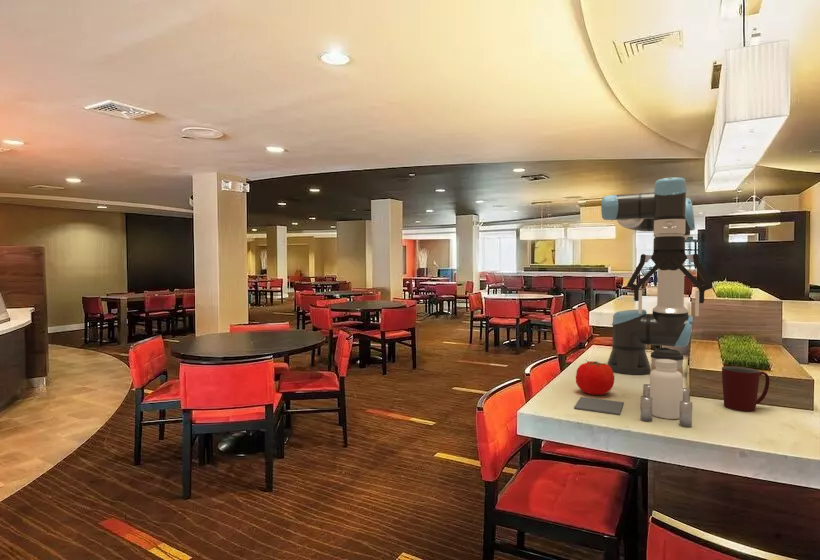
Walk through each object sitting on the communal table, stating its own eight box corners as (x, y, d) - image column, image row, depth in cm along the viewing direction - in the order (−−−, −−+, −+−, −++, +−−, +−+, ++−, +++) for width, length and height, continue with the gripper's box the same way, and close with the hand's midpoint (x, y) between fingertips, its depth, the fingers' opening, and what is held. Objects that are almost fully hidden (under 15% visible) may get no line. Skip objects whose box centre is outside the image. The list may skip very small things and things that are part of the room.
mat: (580, 398, 147) (580, 396, 147) (623, 403, 141) (623, 402, 141) (574, 408, 136) (574, 407, 136) (619, 415, 131) (619, 413, 131)
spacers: (643, 404, 141) (643, 383, 141) (689, 409, 135) (689, 388, 135) (640, 420, 126) (640, 398, 126) (692, 428, 121) (692, 404, 120)
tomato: (573, 387, 160) (573, 356, 159) (610, 389, 157) (610, 358, 157) (578, 397, 148) (578, 364, 147) (618, 399, 146) (618, 366, 145)
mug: (757, 403, 141) (758, 366, 140) (778, 413, 132) (779, 373, 132) (714, 402, 142) (715, 365, 142) (732, 412, 133) (732, 372, 133)
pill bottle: (643, 411, 134) (644, 358, 134) (670, 410, 135) (671, 357, 134) (660, 420, 126) (661, 364, 126) (689, 419, 127) (690, 363, 127)
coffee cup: (687, 402, 142) (688, 352, 142) (654, 401, 144) (655, 351, 143) (677, 394, 151) (677, 347, 150) (646, 393, 153) (646, 346, 152)
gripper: (617, 236, 132) (616, 313, 133) (725, 233, 120) (723, 318, 121) (620, 238, 139) (619, 311, 139) (722, 235, 127) (720, 315, 128)
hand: (667, 314), depth 130 cm, fingers open, 13 cm apart
